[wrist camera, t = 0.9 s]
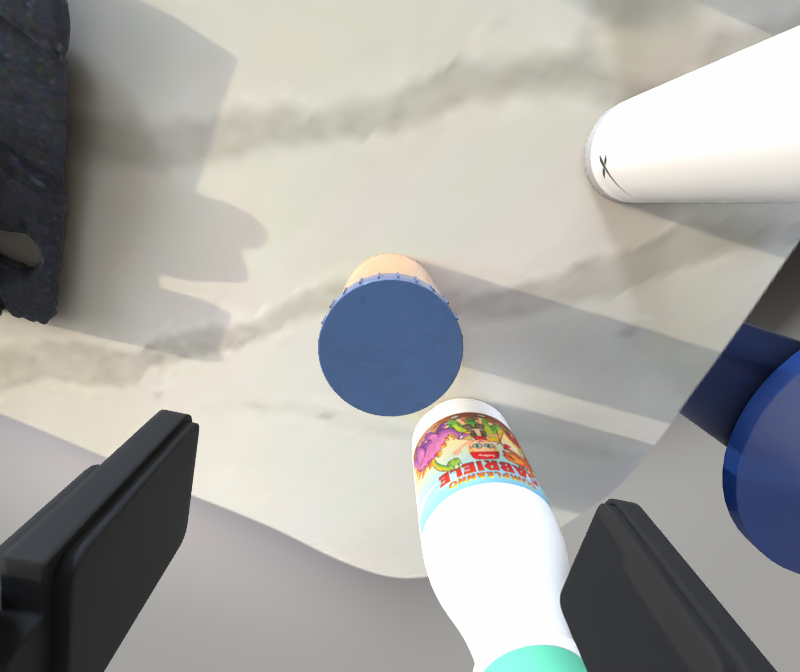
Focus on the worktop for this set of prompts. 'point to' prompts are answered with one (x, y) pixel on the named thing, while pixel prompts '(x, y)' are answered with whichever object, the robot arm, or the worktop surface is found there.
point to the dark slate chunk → (33, 148)
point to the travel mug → (707, 133)
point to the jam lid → (390, 345)
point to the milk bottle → (491, 541)
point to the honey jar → (389, 268)
